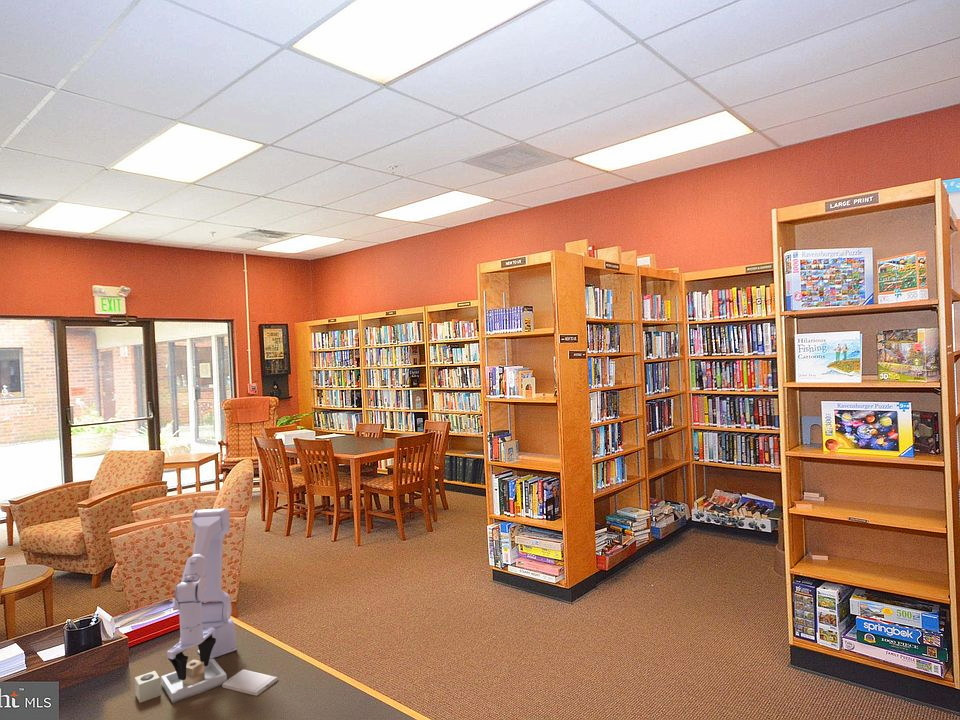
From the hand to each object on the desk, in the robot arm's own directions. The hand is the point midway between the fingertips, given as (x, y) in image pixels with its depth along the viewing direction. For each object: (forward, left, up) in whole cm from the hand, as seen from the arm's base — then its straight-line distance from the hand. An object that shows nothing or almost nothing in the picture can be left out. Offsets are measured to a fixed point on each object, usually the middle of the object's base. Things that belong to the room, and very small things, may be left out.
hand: (193, 671), depth 171 cm
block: (0, 0, -3) cm, 3 cm away
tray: (0, 0, -3) cm, 3 cm away
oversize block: (+11, -3, -3) cm, 12 cm away
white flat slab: (-12, +11, -4) cm, 17 cm away
